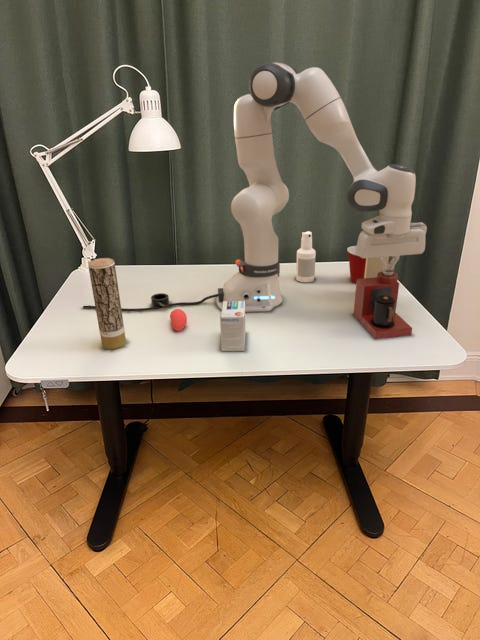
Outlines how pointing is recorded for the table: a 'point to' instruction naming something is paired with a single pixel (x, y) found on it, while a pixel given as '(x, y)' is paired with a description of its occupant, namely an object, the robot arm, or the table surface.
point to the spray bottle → (305, 259)
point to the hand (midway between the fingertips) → (388, 269)
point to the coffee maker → (365, 292)
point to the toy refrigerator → (373, 267)
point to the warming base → (394, 330)
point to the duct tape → (160, 300)
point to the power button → (388, 273)
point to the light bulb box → (232, 326)
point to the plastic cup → (356, 264)
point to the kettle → (384, 311)
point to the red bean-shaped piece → (178, 319)
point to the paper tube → (107, 302)
